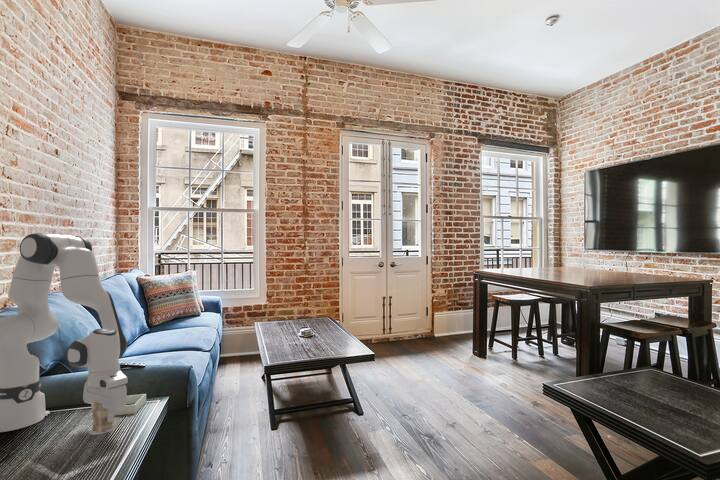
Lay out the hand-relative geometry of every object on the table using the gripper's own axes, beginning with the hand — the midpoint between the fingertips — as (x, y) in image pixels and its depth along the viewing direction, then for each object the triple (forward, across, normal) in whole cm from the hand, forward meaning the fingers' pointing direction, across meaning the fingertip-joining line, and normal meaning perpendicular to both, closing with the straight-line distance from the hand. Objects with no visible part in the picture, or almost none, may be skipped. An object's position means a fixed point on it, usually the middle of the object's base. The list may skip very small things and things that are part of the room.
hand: (103, 419), depth 123 cm
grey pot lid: (+4, 0, 0) cm, 4 cm away
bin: (+4, -12, +13) cm, 18 cm away
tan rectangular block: (+3, 0, 0) cm, 3 cm away
